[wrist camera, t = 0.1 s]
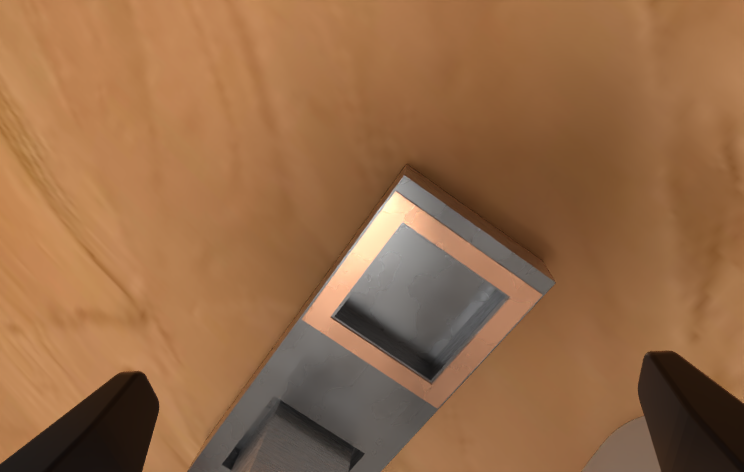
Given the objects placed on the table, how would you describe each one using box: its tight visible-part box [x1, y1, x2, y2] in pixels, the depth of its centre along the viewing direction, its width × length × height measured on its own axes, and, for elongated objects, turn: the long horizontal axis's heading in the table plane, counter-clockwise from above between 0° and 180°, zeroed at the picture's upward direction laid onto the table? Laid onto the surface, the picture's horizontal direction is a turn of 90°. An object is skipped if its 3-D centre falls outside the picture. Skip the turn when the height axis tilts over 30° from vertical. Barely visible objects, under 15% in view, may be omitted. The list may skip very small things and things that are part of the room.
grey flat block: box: [187, 164, 556, 472], centre depth 26 cm, size 20×8×3 cm, turn 145°
